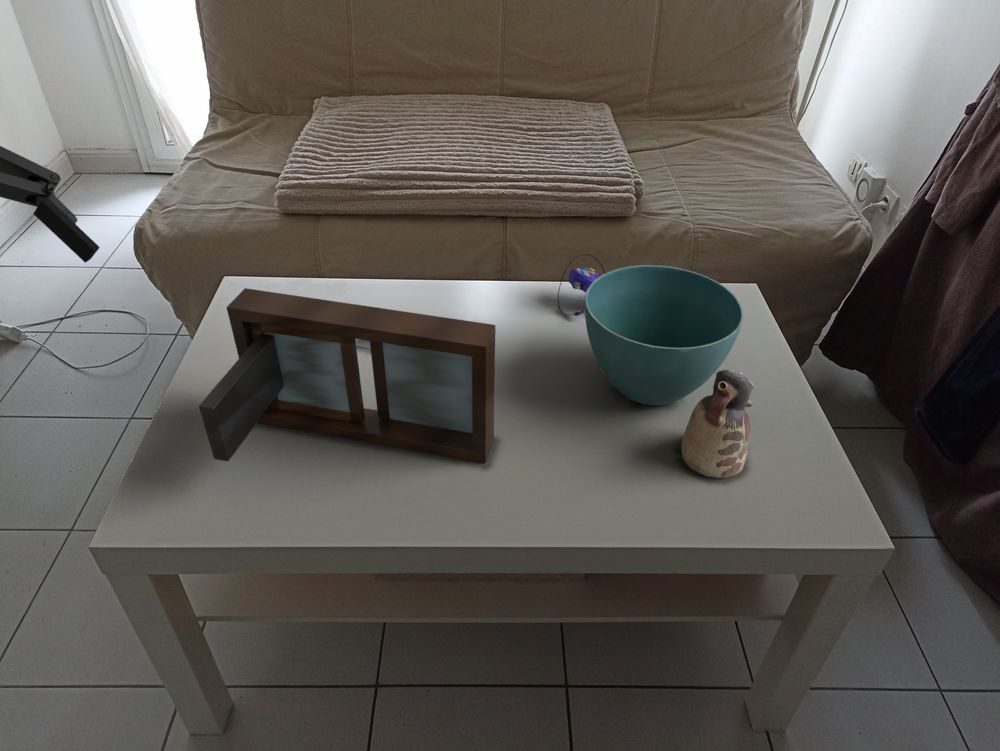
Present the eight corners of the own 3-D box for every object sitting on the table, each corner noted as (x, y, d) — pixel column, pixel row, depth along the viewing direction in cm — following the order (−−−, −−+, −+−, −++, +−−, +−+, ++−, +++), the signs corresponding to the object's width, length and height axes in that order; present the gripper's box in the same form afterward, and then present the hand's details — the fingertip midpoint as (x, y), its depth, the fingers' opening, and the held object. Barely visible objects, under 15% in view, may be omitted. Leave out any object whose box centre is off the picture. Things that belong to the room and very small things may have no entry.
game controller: (632, 265, 111) (641, 288, 102) (610, 313, 115) (617, 339, 106) (569, 243, 110) (573, 264, 101) (549, 292, 114) (551, 317, 105)
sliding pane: (212, 483, 78) (184, 390, 70) (272, 402, 88) (252, 314, 81) (316, 503, 76) (298, 410, 68) (365, 419, 86) (354, 330, 79)
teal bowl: (549, 393, 93) (555, 310, 86) (619, 327, 105) (630, 249, 98) (684, 455, 85) (704, 369, 78) (744, 376, 97) (766, 294, 89)
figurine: (756, 459, 85) (783, 375, 77) (719, 489, 81) (744, 404, 74) (704, 427, 89) (725, 344, 82) (667, 454, 85) (685, 370, 78)
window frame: (254, 422, 88) (226, 307, 78) (270, 401, 91) (244, 287, 81) (485, 463, 83) (486, 346, 74) (493, 439, 87) (495, 324, 77)
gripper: (-47, 85, 77) (118, 244, 83) (-321, 193, 59) (-85, 385, 65) (-29, 39, 72) (144, 211, 78) (-321, 141, 54) (-66, 353, 61)
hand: (41, 291), depth 72 cm, fingers open, 13 cm apart
